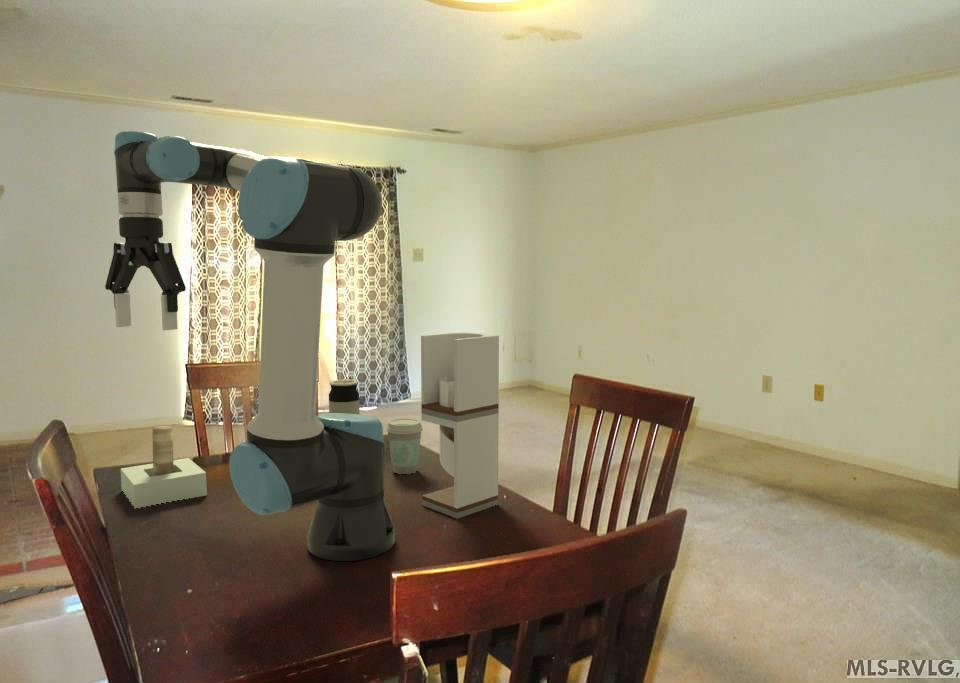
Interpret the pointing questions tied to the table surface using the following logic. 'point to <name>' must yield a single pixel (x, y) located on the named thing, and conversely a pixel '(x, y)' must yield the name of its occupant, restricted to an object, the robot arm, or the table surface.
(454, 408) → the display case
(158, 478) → the socket block
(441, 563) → the table surface
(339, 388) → the travel mug
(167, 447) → the dowel
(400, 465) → the coffee cup
